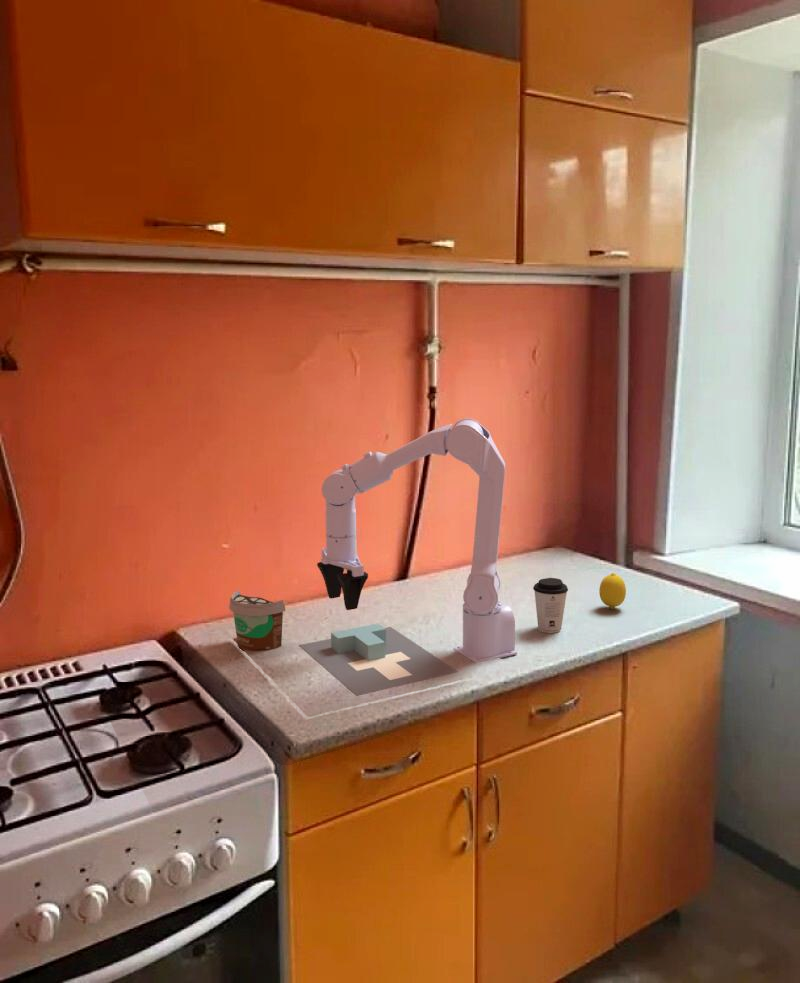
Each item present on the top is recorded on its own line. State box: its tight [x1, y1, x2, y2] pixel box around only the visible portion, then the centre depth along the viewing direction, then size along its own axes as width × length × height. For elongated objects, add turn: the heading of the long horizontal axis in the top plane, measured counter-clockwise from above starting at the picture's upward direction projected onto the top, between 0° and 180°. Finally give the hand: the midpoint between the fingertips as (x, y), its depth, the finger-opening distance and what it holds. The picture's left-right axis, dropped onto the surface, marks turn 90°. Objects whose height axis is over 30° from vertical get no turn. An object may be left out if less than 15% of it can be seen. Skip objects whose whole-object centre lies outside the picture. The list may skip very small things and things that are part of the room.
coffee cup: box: [532, 577, 569, 634], centre depth 179 cm, size 7×7×10 cm
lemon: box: [599, 572, 627, 610], centre depth 190 cm, size 6×6×8 cm
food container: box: [228, 590, 286, 652], centre depth 170 cm, size 12×6×10 cm, turn 56°
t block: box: [330, 623, 386, 661], centre depth 168 cm, size 10×10×3 cm
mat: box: [298, 626, 458, 696], centre depth 165 cm, size 20×26×1 cm
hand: (342, 603), depth 170 cm, fingers open, 7 cm apart
